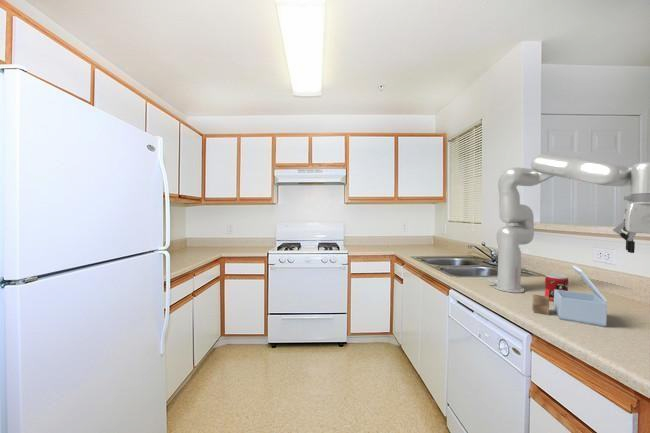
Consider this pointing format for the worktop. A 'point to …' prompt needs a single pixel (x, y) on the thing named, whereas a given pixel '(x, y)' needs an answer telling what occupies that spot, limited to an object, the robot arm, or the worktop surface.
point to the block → (540, 304)
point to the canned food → (555, 284)
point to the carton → (580, 307)
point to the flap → (589, 283)
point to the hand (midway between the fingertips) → (644, 252)
